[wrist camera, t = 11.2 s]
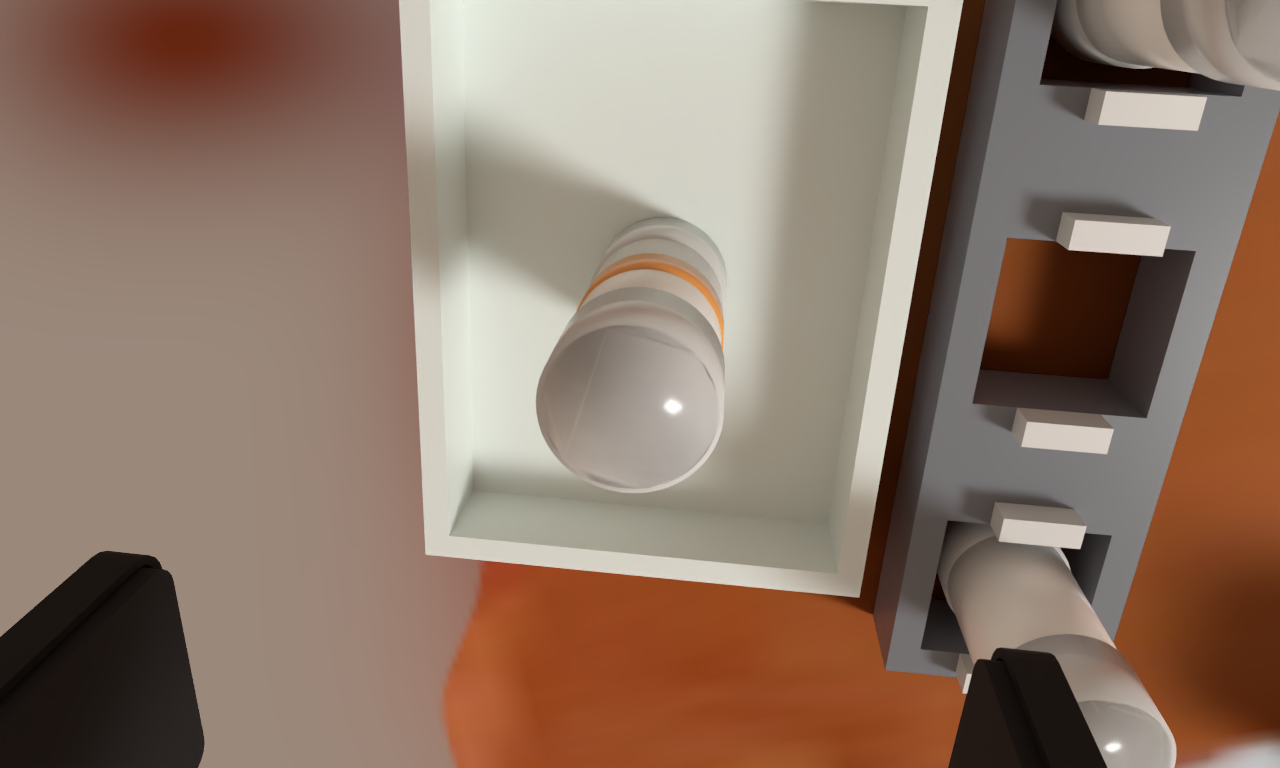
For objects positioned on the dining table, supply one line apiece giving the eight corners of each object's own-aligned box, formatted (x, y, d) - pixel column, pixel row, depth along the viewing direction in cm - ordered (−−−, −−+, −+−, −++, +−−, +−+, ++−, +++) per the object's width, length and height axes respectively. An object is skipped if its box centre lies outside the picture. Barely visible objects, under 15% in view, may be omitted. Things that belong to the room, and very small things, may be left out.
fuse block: (1015, -166, 24) (1067, -198, 20) (1293, -155, 23) (1398, -186, 20) (873, 615, 33) (890, 690, 30) (1067, 634, 33) (1108, 713, 29)
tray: (443, -49, 26) (395, -58, 23) (934, -23, 25) (968, -29, 22) (459, 494, 33) (425, 554, 30) (845, 530, 32) (859, 597, 29)
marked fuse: (602, 212, 28) (537, 312, 18) (732, 221, 27) (732, 328, 18) (597, 335, 29) (534, 484, 20) (720, 345, 29) (715, 501, 20)
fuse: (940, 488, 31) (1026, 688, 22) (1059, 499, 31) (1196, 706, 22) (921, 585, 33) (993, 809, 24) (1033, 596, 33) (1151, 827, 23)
